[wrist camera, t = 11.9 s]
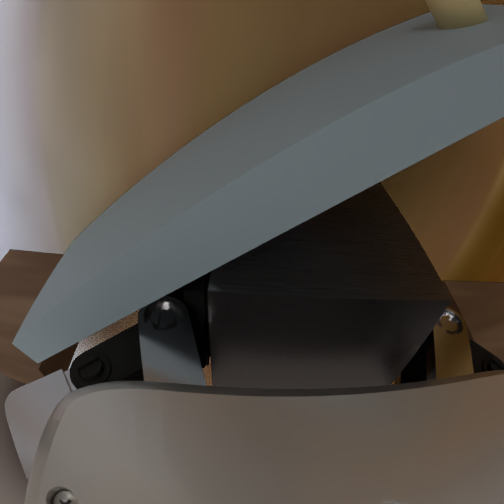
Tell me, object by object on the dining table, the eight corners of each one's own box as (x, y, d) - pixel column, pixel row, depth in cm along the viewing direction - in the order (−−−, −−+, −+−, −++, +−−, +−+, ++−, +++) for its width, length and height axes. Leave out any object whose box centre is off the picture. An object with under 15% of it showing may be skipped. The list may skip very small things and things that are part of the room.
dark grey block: (235, 150, 11) (207, 290, 6) (367, 164, 11) (451, 300, 6) (229, 289, 15) (215, 427, 10) (329, 295, 15) (352, 427, 10)
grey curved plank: (59, 224, 12) (-10, 325, 8) (438, -20, 6) (568, -26, 1) (92, 256, 13) (37, 363, 9) (465, 34, 7) (596, 68, 2)
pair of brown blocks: (10, 249, 14) (-49, 336, 9) (509, 282, 15) (553, 363, 10) (21, 275, 15) (-29, 361, 10) (494, 304, 16) (533, 384, 11)
